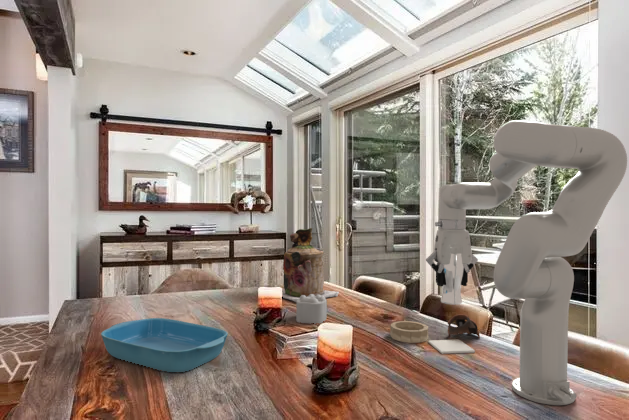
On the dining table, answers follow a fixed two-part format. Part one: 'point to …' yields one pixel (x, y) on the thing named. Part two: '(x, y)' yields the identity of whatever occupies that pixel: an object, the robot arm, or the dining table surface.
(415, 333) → the collar
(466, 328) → the dark brown arch
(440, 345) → the coaster
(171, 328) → the casserole dish
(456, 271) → the beer glass
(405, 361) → the dining table surface
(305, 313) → the gray box with bumps
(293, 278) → the cookie jar
